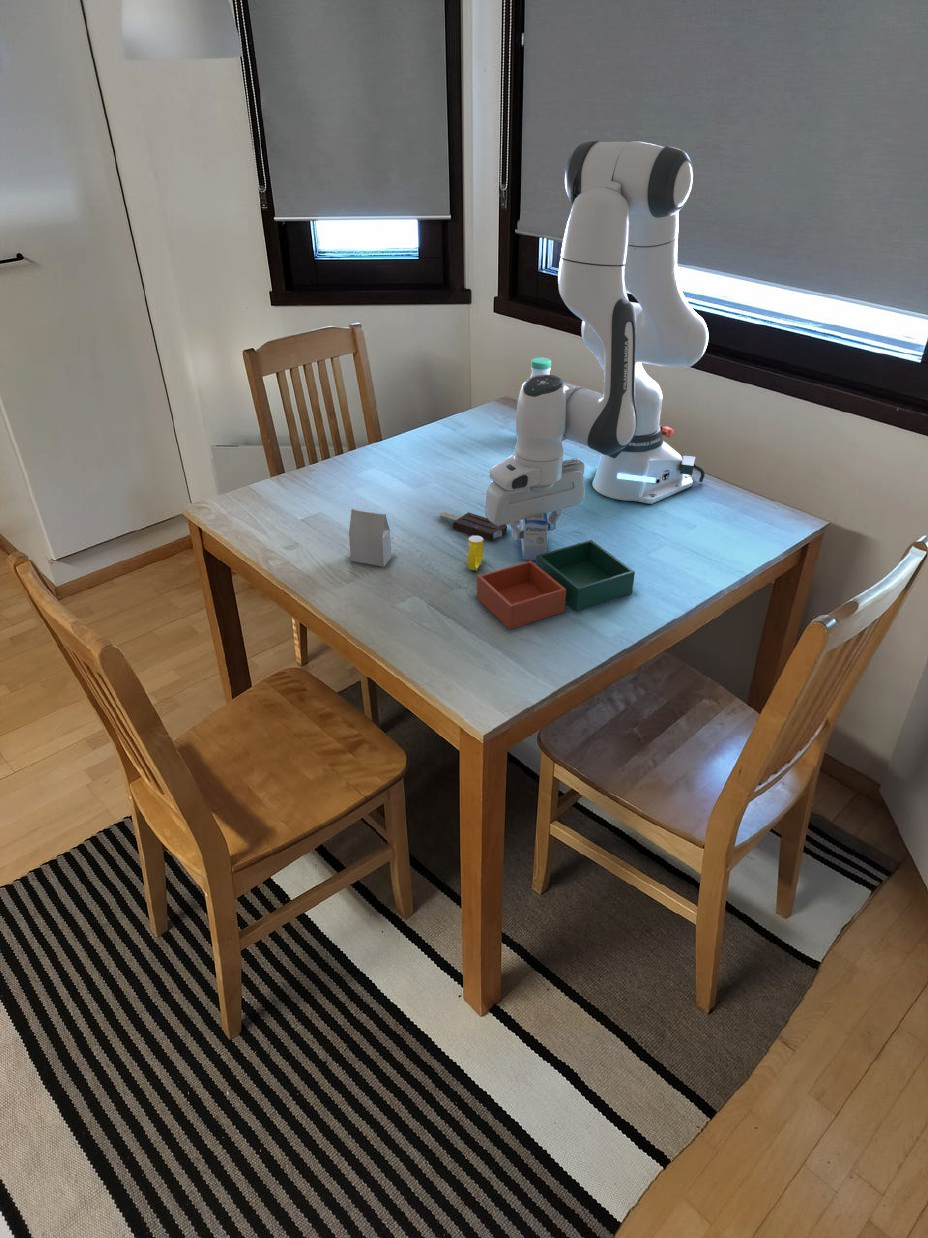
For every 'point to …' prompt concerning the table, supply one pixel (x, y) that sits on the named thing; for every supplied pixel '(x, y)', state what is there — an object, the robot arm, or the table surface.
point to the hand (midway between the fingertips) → (533, 533)
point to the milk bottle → (540, 366)
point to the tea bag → (369, 538)
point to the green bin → (587, 574)
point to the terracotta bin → (521, 594)
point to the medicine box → (534, 536)
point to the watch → (475, 552)
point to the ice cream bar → (476, 525)
